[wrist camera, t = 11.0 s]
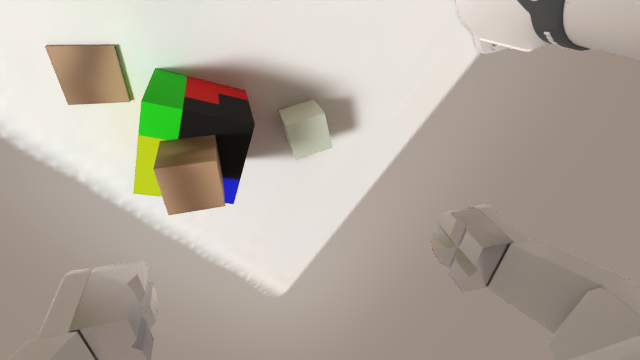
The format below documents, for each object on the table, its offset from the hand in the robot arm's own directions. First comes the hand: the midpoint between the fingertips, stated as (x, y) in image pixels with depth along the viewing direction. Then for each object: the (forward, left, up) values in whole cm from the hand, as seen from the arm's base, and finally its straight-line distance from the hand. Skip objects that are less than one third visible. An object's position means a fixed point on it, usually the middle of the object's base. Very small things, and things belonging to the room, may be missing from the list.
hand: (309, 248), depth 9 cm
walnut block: (+5, +11, -24) cm, 27 cm away
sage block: (-8, +12, -34) cm, 37 cm away
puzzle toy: (+5, +11, -34) cm, 37 cm away
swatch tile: (+15, +5, -34) cm, 38 cm away
